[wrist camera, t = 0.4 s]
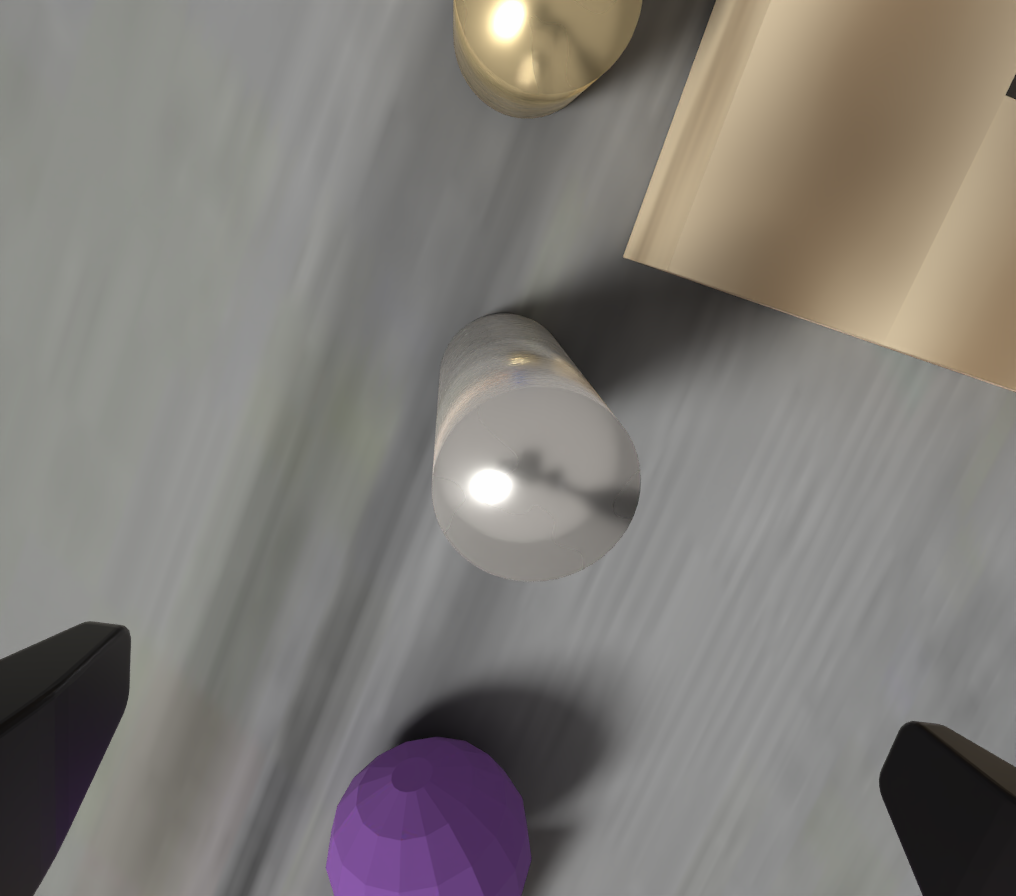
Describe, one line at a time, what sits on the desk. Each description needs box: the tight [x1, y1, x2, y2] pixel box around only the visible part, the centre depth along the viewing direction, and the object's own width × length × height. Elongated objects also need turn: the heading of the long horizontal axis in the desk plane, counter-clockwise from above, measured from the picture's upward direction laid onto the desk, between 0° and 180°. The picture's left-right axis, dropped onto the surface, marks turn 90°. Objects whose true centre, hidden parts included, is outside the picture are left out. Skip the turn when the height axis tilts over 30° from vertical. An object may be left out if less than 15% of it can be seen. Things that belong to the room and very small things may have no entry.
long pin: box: [432, 313, 641, 582], centre depth 15 cm, size 4×4×8 cm
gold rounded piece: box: [453, 0, 642, 118], centre depth 15 cm, size 4×4×4 cm
